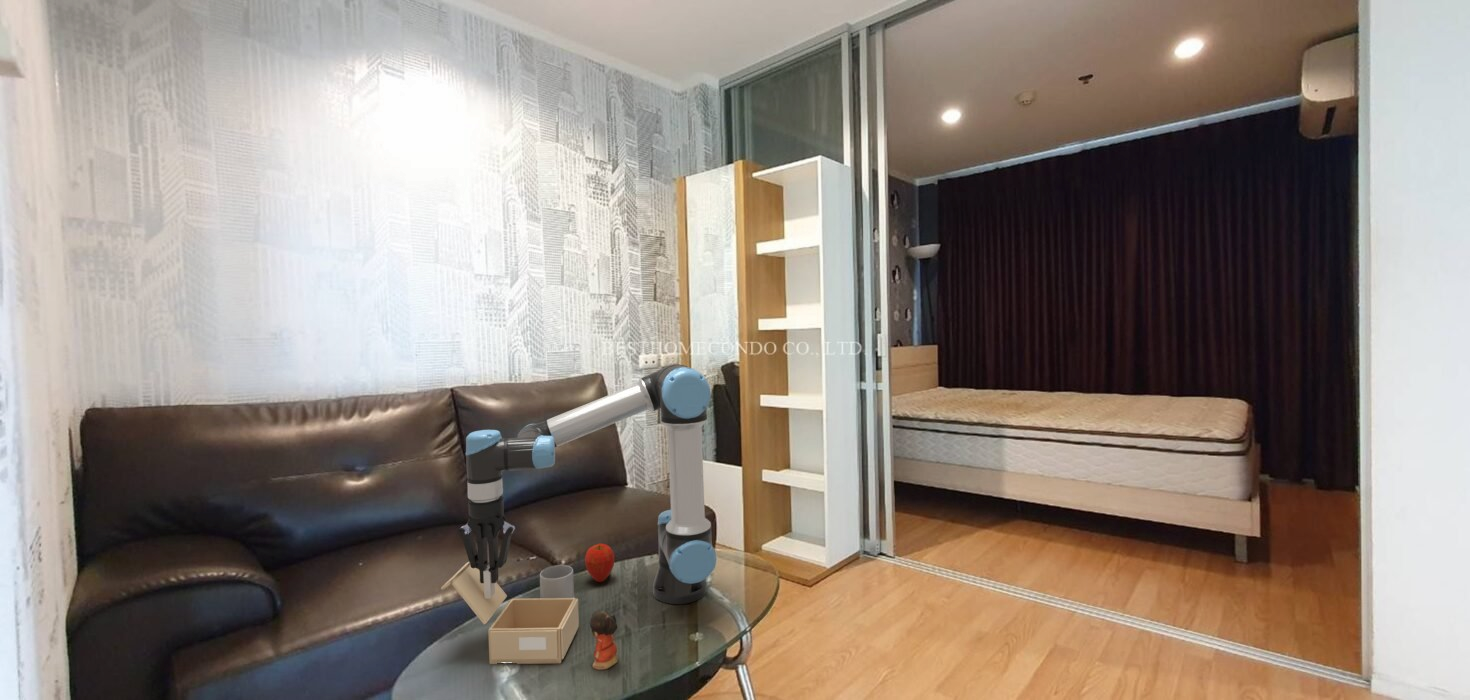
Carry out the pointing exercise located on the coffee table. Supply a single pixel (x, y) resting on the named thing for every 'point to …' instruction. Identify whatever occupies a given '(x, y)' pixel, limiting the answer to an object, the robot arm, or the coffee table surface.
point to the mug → (557, 582)
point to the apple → (599, 561)
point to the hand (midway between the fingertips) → (489, 595)
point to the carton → (533, 631)
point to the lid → (476, 592)
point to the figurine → (604, 639)
